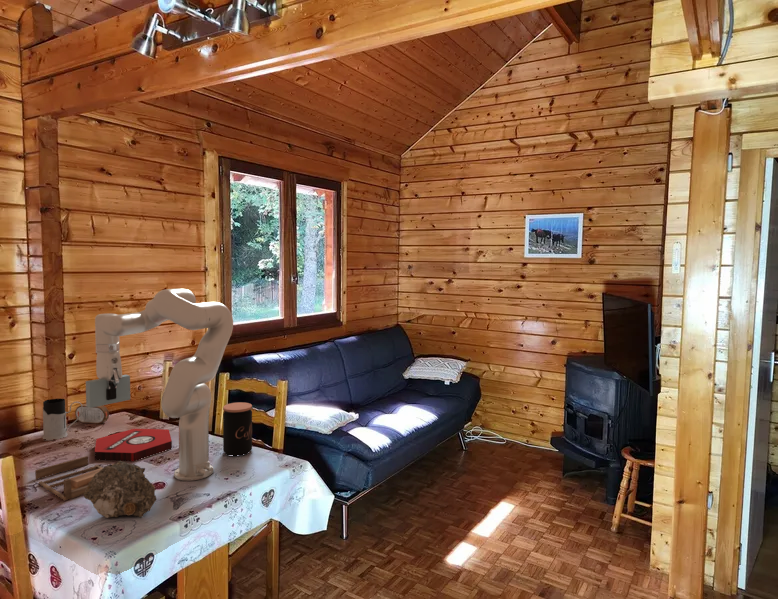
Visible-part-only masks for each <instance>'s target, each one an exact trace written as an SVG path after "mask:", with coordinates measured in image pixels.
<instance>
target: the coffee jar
mask: <svg viewBox="0 0 778 599" xmlns="http://www.w3.org/2000/svg"><path fill="white" fill-rule="evenodd" d="M222 408H223V409H222V410H223V414H222V421H223V422H222V429H223V430H222V432H223V433H222V442H223V443H222V449H223V452H224V454H225V455H226V454H227V455H226V456H228V455H233V456H232V457H238V456H237V455H243V454H246V455H248V454H249V453H248V452H250V453H251V451H252V449H253V411H252V409H253V405H252V404H251V403H249V402H231V403H227V404H225V405H223V407H222ZM247 453H248V454H247ZM243 456H244V455H243Z"/></svg>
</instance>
